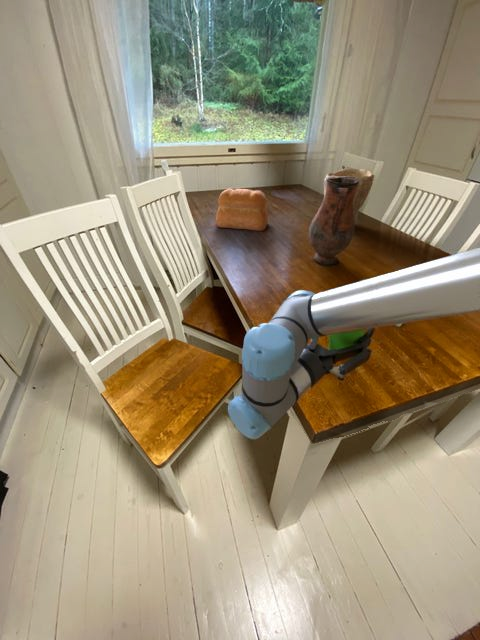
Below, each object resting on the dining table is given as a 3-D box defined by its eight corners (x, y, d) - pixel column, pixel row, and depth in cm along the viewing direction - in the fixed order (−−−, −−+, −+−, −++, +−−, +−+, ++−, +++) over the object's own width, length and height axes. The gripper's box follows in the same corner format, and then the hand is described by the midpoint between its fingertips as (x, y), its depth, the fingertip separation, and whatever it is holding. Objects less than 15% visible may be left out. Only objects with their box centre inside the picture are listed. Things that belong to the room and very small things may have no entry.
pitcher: (344, 252, 118) (364, 175, 99) (347, 276, 101) (373, 190, 83) (305, 248, 120) (318, 173, 102) (302, 271, 104) (317, 186, 85)
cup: (317, 358, 65) (326, 322, 58) (323, 334, 71) (332, 300, 64) (357, 369, 62) (371, 333, 55) (359, 344, 68) (373, 308, 62)
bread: (221, 218, 151) (220, 184, 140) (268, 221, 147) (271, 187, 136) (213, 228, 139) (212, 192, 128) (264, 232, 135) (267, 195, 124)
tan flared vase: (323, 214, 158) (332, 165, 142) (363, 220, 150) (378, 169, 134) (311, 226, 142) (321, 172, 127) (356, 234, 134) (372, 178, 118)
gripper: (257, 358, 61) (315, 316, 74) (339, 419, 50) (392, 357, 62) (259, 333, 57) (320, 292, 69) (350, 394, 45) (405, 332, 57)
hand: (354, 323), depth 65 cm, fingers closed on cup, 8 cm apart
